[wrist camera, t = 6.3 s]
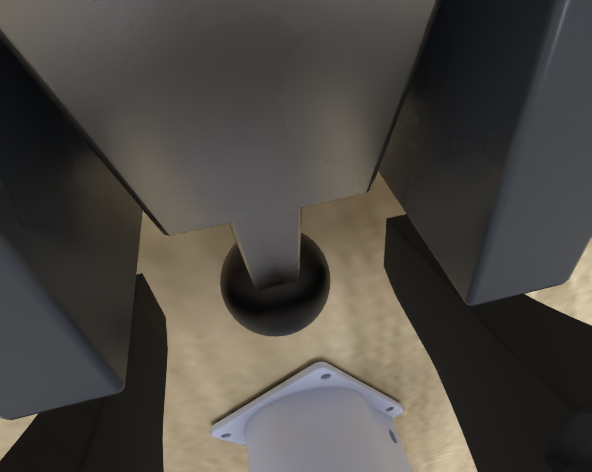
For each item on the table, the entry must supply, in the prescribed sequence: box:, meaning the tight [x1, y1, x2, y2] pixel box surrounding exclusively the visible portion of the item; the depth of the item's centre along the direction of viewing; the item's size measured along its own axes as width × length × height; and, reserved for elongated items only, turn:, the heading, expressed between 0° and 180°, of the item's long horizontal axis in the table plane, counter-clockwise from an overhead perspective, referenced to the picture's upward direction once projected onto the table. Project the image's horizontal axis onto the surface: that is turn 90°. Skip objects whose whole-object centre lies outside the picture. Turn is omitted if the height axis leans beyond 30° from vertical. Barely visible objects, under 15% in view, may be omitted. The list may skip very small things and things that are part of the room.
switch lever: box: [0, 0, 442, 336], centre depth 7 cm, size 11×3×3 cm, turn 7°
